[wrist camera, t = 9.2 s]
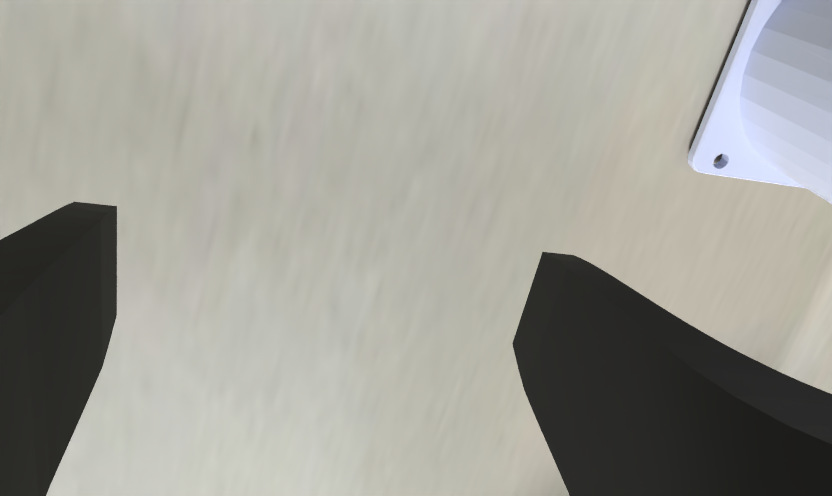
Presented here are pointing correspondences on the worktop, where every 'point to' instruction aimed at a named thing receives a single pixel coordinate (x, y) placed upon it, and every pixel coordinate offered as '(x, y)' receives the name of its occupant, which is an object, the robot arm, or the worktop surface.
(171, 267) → the worktop surface
